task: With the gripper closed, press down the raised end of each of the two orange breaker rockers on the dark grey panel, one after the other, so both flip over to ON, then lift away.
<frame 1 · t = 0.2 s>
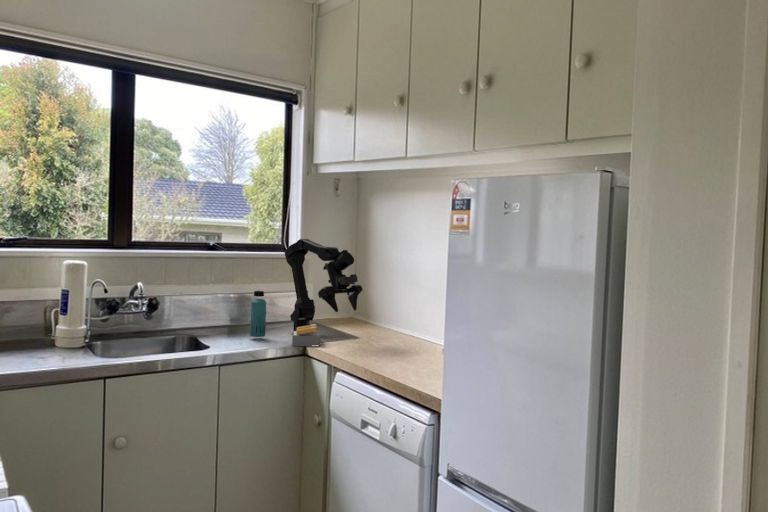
hand: (346, 310, 230), 14 cm above the worktop, tool tilted 30°, fingers open, 9 cm apart
rocker far: (306, 327, 235), point 6 cm above the worktop, hinge at -12.0°
rocker near: (306, 330, 230), point 6 cm above the worktop, hinge at -12.0°
breaker panel: (306, 343, 233), on the worktop
beverage bottle: (257, 339, 237), on the worktop
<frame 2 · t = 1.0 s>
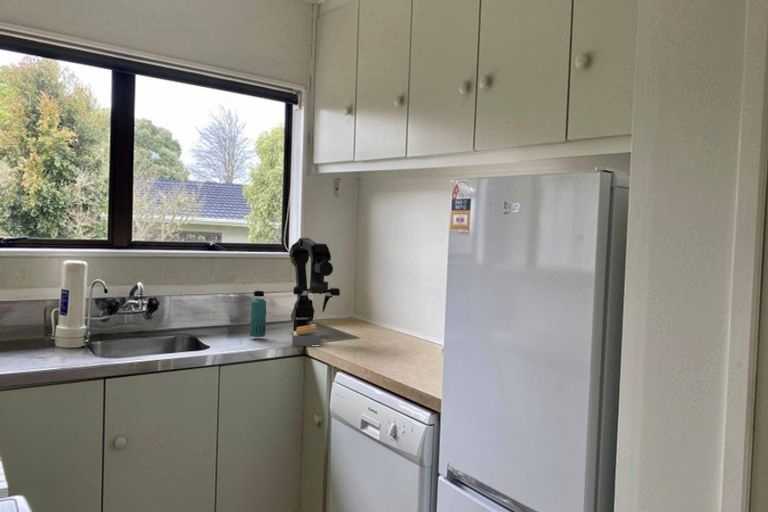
hand: (315, 312, 236), 12 cm above the worktop, tool pointing down, fingers open, 6 cm apart
nothing on the worktop moved.
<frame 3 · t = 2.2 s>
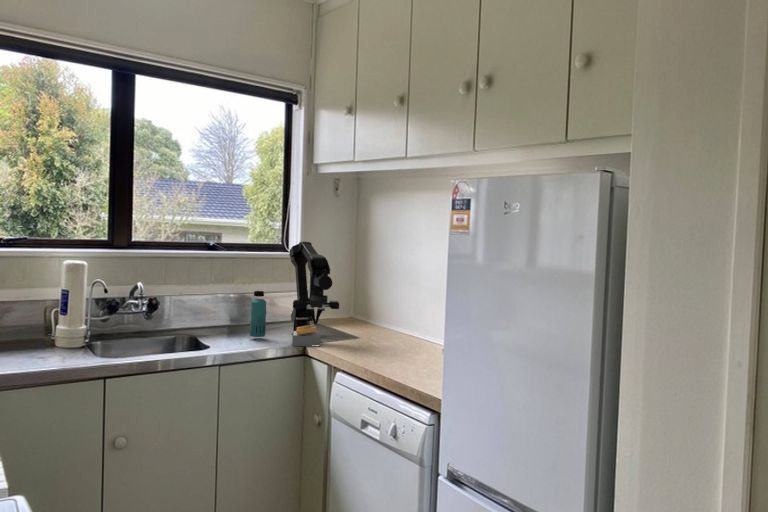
hand: (315, 325, 236), 7 cm above the worktop, tool pointing down, fingers closed, pressing on rocker far
rocker far: (306, 327, 235), point 6 cm above the worktop, hinge at -11.5°, touching gripper
everything else where it was.
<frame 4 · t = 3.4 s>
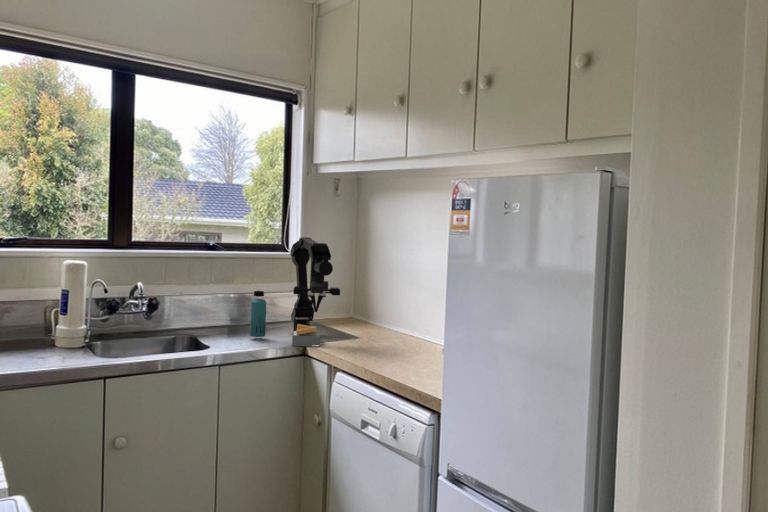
hand: (315, 312, 234), 13 cm above the worktop, tool pointing down, fingers closed
rocker far: (306, 327, 235), point 6 cm above the worktop, hinge at 8.0°
everything else where it was.
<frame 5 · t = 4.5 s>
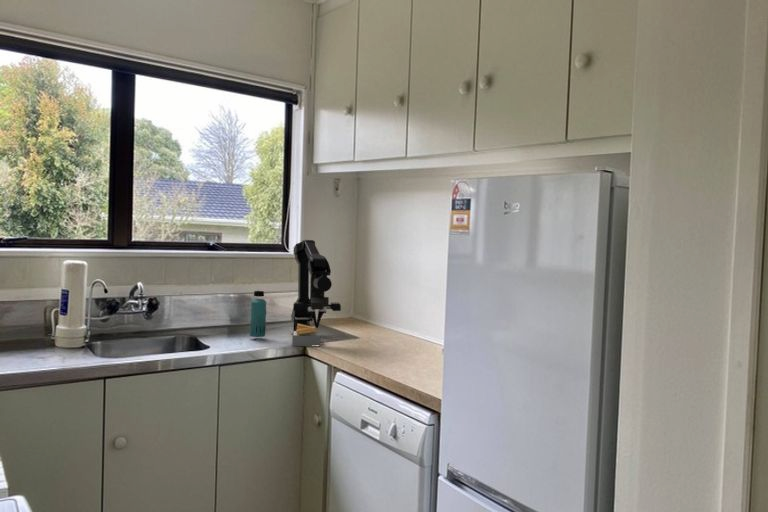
hand: (316, 328, 230), 7 cm above the worktop, tool pointing down, fingers closed
rocker far: (306, 327, 235), point 6 cm above the worktop, hinge at 11.7°
rocker near: (306, 330, 230), point 6 cm above the worktop, hinge at -9.6°, touching gripper
everything else where it was.
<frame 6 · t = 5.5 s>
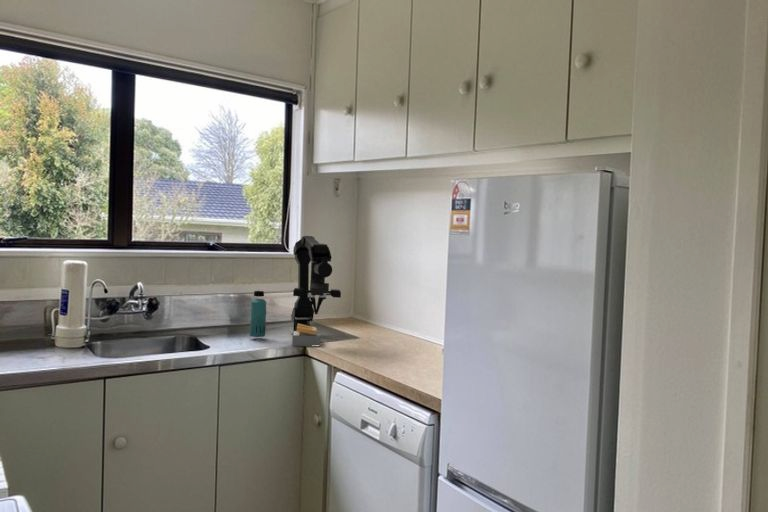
hand: (316, 314, 230), 12 cm above the worktop, tool pointing down, fingers closed
rocker far: (306, 327, 235), point 6 cm above the worktop, hinge at 12.4°
rocker near: (306, 330, 230), point 6 cm above the worktop, hinge at 7.9°
everything else where it was.
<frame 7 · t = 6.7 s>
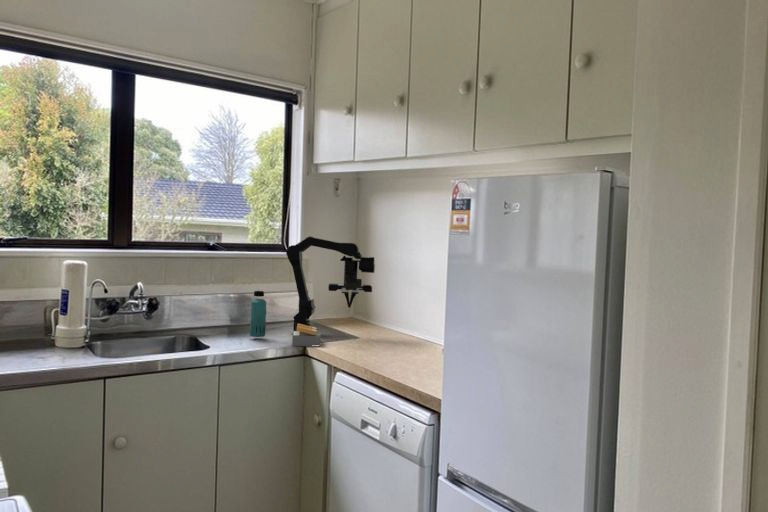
hand: (349, 307, 250), 13 cm above the worktop, tool pointing down, fingers closed
rocker near: (306, 330, 230), point 6 cm above the worktop, hinge at 11.9°
everything else where it was.
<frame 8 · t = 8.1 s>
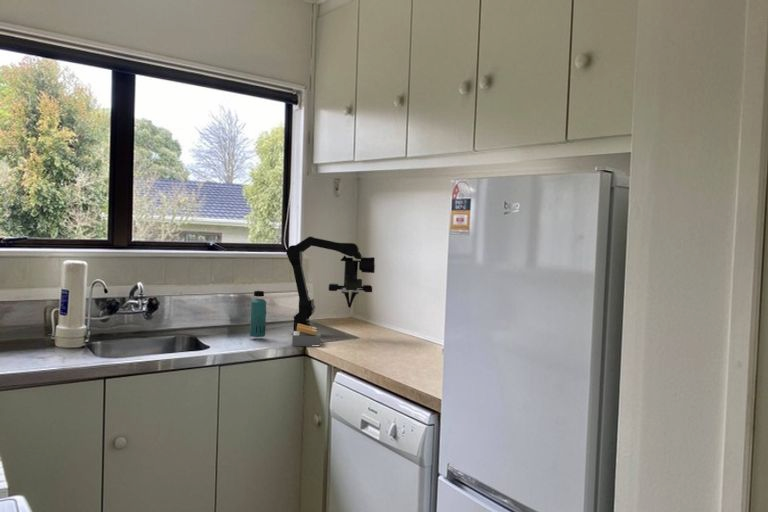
hand: (349, 307, 251), 13 cm above the worktop, tool pointing down, fingers closed
rocker near: (306, 330, 230), point 6 cm above the worktop, hinge at 12.6°
everything else where it was.
at the end: rocker far at +13° (first picture: -12°); rocker near at +13° (first picture: -12°) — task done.
